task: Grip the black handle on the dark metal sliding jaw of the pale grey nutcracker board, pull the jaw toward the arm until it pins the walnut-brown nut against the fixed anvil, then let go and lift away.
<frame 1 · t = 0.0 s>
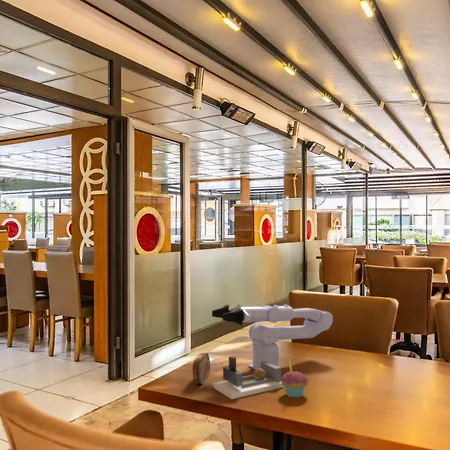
hand: (217, 315, 163), 22 cm above the table, tool horizontal, fingers open, 7 cm apart
cupcake: (294, 395, 145), on the table
nut: (259, 374, 154), point 3 cm above the table, touching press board
sliding jaw: (232, 369, 149), point 7 cm above the table, slide at 0.0 cm
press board: (248, 387, 152), on the table
tin: (201, 380, 160), on the table
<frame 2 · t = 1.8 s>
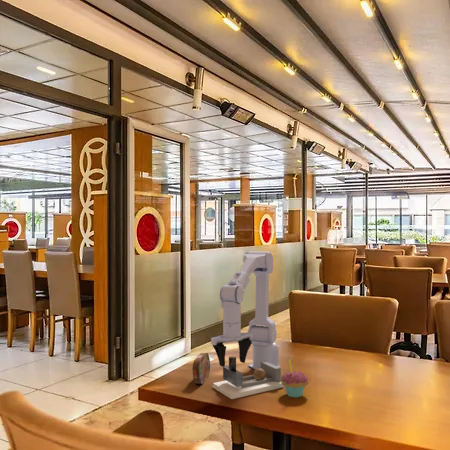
hand: (232, 363, 149), 9 cm above the table, tool pointing down, fingers open, 7 cm apart
nothing on the table moved.
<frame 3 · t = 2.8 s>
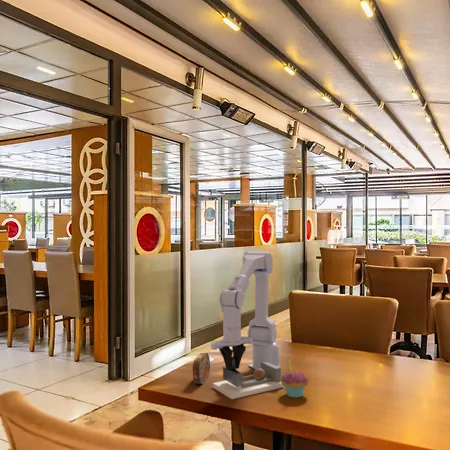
hand: (232, 368, 149), 7 cm above the table, tool pointing down, fingers closed on sliding jaw, 2 cm apart
sliding jaw: (232, 369, 149), point 7 cm above the table, slide at 0.0 cm, touching gripper
everything else where it was.
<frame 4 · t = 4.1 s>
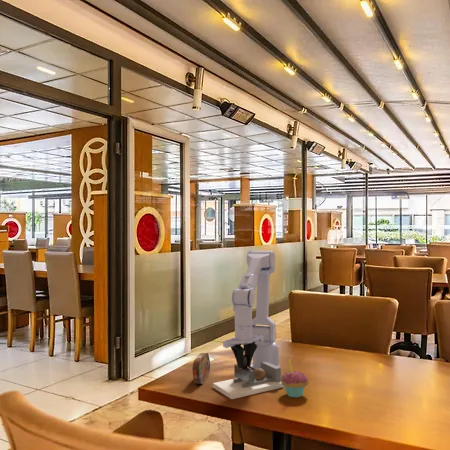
hand: (243, 366, 151), 7 cm above the table, tool pointing down, fingers closed on sliding jaw, 2 cm apart
sliding jaw: (243, 367, 151), point 7 cm above the table, slide at 4.4 cm, touching gripper
everything else where it was.
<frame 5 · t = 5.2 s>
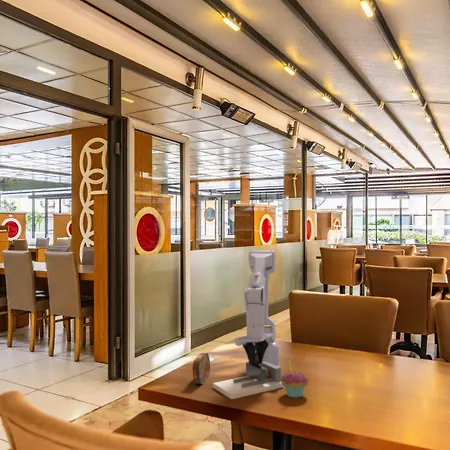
hand: (255, 364, 153), 7 cm above the table, tool pointing down, fingers closed on sliding jaw, 2 cm apart
nut: (263, 373, 155), point 3 cm above the table, tilted 42°, touching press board
sliding jaw: (255, 365, 153), point 7 cm above the table, slide at 9.0 cm, touching gripper
everything else where it was.
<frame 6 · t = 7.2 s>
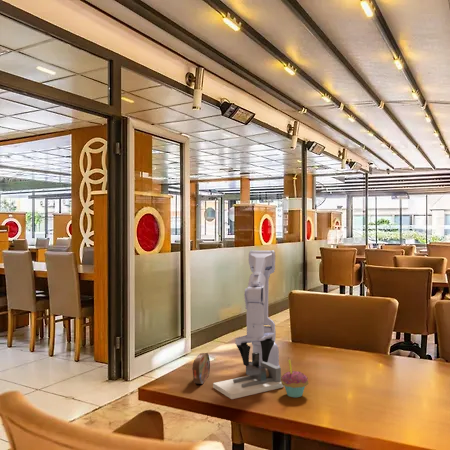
hand: (255, 363, 153), 7 cm above the table, tool pointing down, fingers open, 7 cm apart
nut: (263, 373, 155), point 3 cm above the table, tilted 42°, touching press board, sliding jaw
sliding jaw: (255, 365, 153), point 7 cm above the table, slide at 9.0 cm, touching nut
everything else where it was.
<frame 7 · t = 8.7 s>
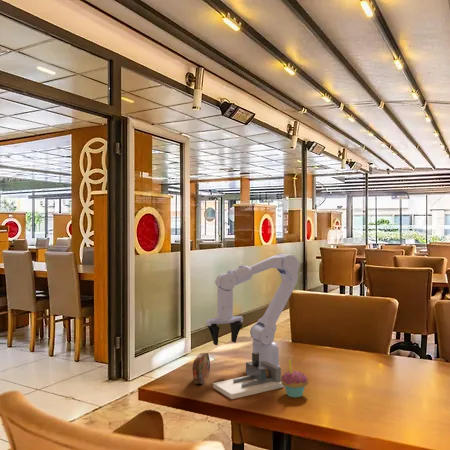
hand: (224, 343, 168), 10 cm above the table, tool pointing down, fingers open, 7 cm apart
nothing on the table moved.
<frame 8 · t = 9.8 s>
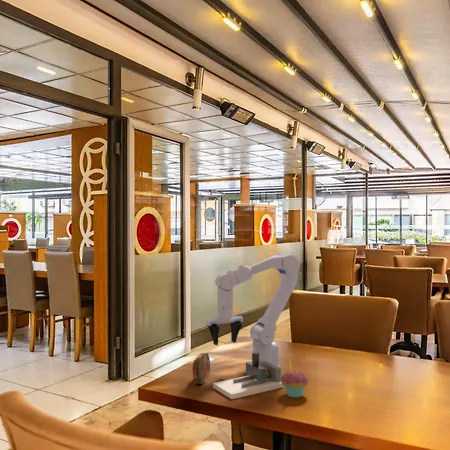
hand: (224, 343, 168), 10 cm above the table, tool pointing down, fingers open, 7 cm apart
nothing on the table moved.
at the end: sliding jaw slide at 9.0 cm; nut 0.2 cm from the target spot on the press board, point 3.5 cm above the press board's base; the gripper is holding nothing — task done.
